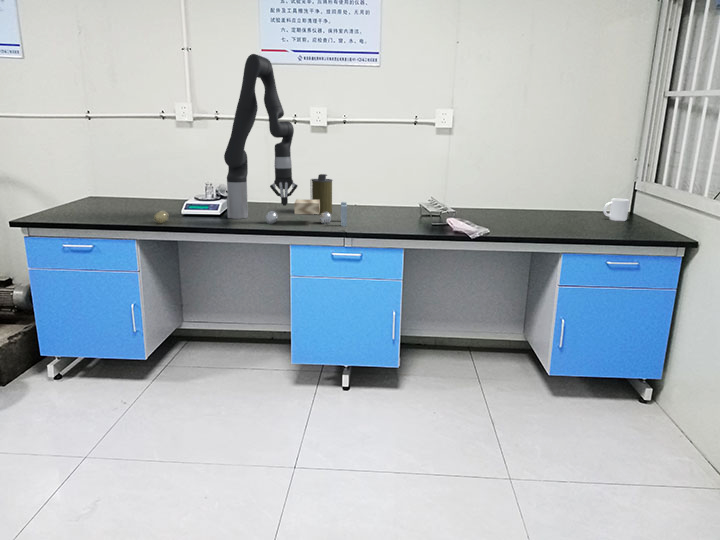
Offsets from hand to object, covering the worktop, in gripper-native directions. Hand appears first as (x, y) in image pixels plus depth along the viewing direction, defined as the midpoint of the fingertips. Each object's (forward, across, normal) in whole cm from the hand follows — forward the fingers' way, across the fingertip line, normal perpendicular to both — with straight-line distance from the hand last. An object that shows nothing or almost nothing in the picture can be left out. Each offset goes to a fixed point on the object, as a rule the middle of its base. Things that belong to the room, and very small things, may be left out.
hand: (284, 205), depth 255 cm
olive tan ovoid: (+2, +55, -1) cm, 55 cm away
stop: (+8, -27, +1) cm, 28 cm away
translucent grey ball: (+7, +4, 0) cm, 8 cm away
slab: (+3, -10, 0) cm, 11 cm away
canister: (+9, -17, -25) cm, 32 cm away
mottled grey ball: (+8, -17, +1) cm, 18 cm away
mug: (+11, -164, -13) cm, 165 cm away
